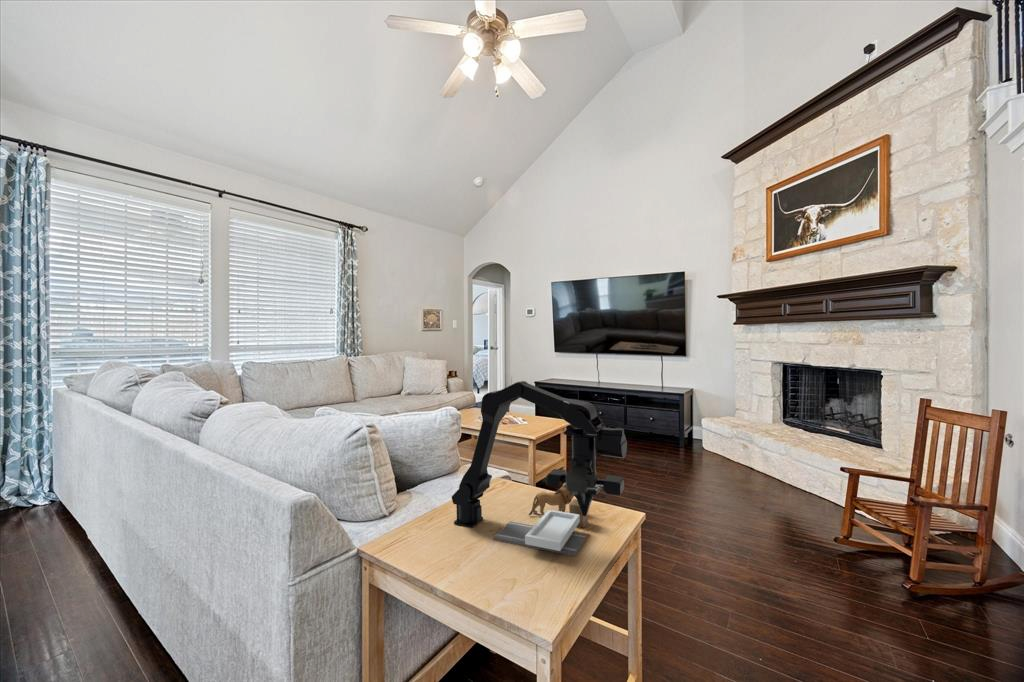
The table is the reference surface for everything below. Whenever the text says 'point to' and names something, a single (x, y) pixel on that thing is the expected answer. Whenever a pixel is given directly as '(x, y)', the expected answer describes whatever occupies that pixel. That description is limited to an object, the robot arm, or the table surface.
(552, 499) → the lion figurine
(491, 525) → the table surface
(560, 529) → the white rimmed tray
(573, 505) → the brown wooden block
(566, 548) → the track mat
